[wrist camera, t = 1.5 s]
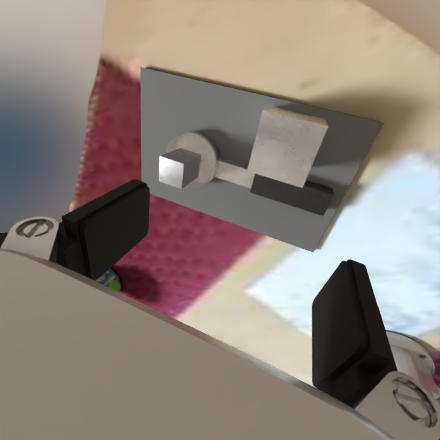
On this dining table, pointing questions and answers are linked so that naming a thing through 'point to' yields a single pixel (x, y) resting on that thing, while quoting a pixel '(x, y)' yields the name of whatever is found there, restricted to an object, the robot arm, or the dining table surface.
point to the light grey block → (286, 145)
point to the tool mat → (245, 152)
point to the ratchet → (232, 174)
